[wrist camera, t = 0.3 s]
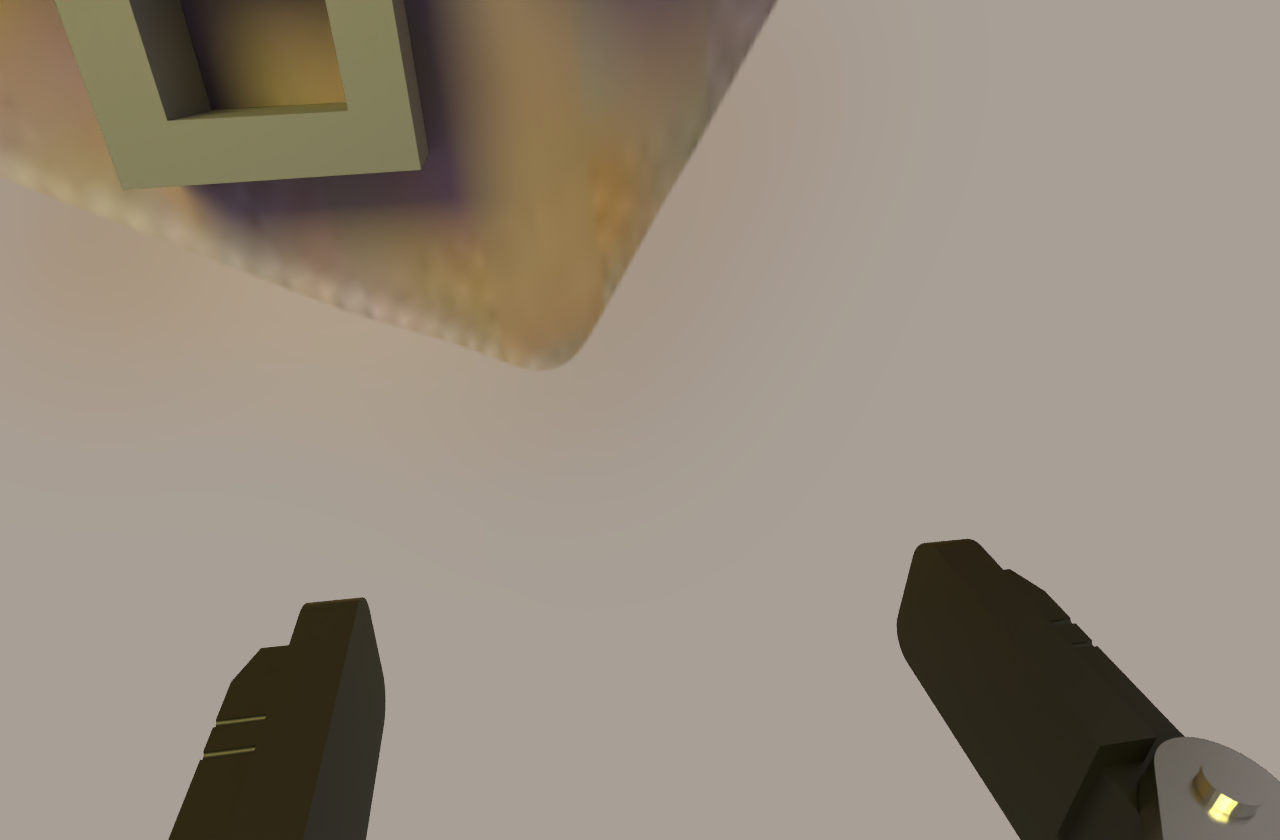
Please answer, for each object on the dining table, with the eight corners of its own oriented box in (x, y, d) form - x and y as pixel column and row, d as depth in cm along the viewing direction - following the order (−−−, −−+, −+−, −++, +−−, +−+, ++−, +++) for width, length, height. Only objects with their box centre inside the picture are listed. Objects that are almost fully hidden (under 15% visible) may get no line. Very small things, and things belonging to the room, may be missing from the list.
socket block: (70, -144, 27) (-11, -179, 22) (380, -145, 28) (361, -179, 24) (171, 169, 32) (122, 189, 28) (429, 153, 34) (420, 170, 29)
